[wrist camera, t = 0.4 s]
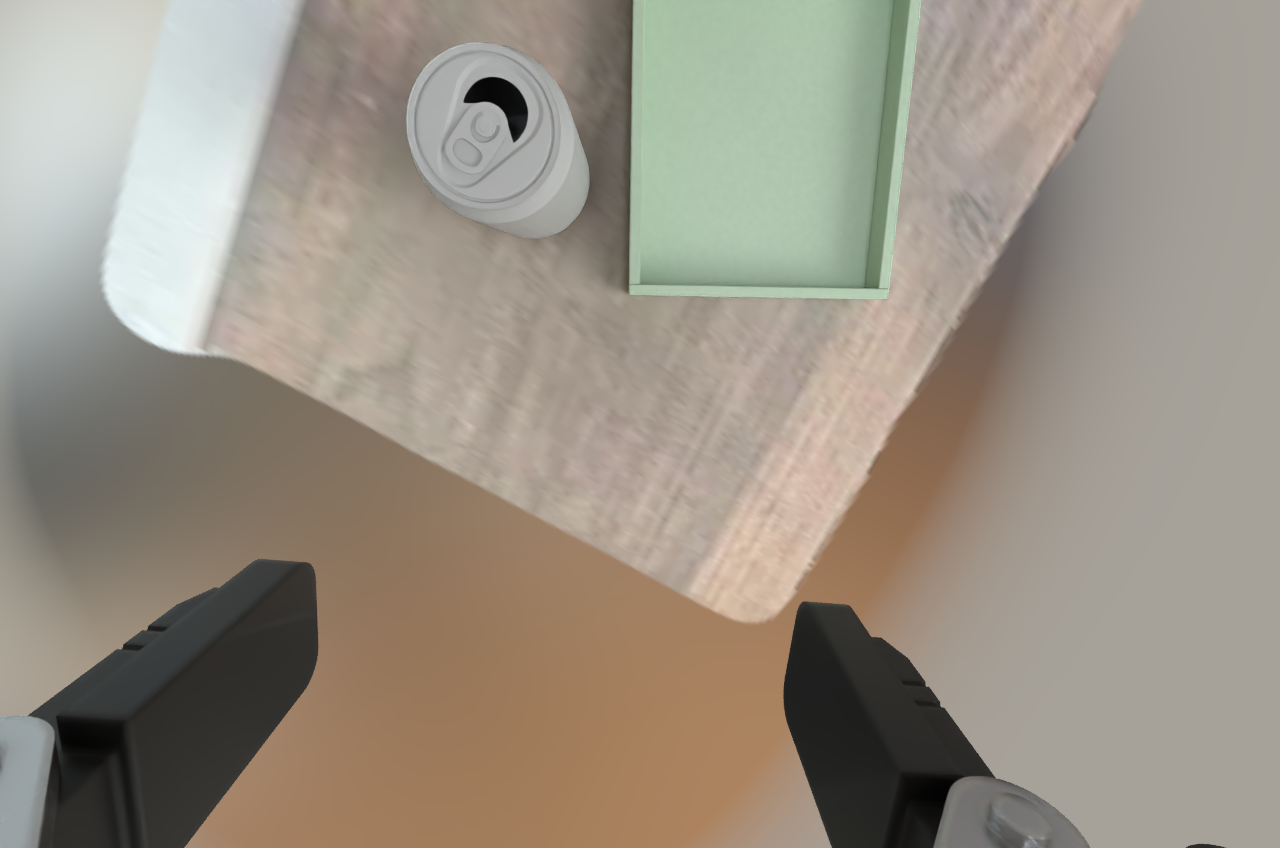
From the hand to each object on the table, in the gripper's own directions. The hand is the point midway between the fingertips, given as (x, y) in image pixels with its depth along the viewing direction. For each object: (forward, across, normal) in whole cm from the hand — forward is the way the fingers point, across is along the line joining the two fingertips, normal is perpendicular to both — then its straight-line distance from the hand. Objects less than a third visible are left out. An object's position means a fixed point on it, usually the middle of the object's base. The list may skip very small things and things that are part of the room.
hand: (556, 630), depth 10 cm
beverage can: (+27, +5, -10) cm, 29 cm away
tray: (+27, -7, -13) cm, 31 cm away
